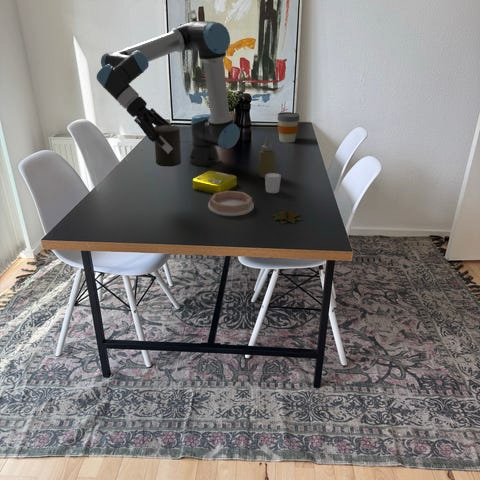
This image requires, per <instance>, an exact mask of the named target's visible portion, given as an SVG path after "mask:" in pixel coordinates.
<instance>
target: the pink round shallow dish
mask: <svg viewBox="0 0 480 480" xmlns="http://www.w3.org/2000/svg"><path fill="white" fill-rule="evenodd" d="M254 207H255V204H254V202H253V196H250V195H249V194H248V193H246V192H243V191H237V190H236V191H235V190H228V191H224V192H219V193H215V194H212V196H211V197H210V198H209V202H208V204H207V208H208V211H210V212H211V213H213V214H216V215H219V216H224V217H238V216H244V215H247V214H249V213H251V212H253V210H254Z"/></svg>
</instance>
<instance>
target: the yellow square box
mask: <svg viewBox="0 0 480 480" xmlns="http://www.w3.org/2000/svg"><path fill="white" fill-rule="evenodd" d="M237 179H238V177H237V176H236V175H234V174H228V173H224V172H219V171H214V170H208V171H206V172H204V173H202V174H200V175H198V176H196V177H194V178H193V179H192V189H194V190H197V191H202V192H205V193H209V194H212V195H214V194H215V193H219V192H224V191H231V189H233V188H234V187H236V186H237Z"/></svg>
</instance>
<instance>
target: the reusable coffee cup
mask: <svg viewBox="0 0 480 480" xmlns="http://www.w3.org/2000/svg"><path fill="white" fill-rule="evenodd" d="M299 121H300V113H296V112H291V111H290V112H287V111H286V112H285V111H284V112H279V113H277V132H278V137H279V141H280V142H281V143H287V144H289V143H294V142H295V141H296V137H297V134H298V129H299V125H300V124H299Z"/></svg>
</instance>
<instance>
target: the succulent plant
mask: <svg viewBox="0 0 480 480" xmlns="http://www.w3.org/2000/svg"><path fill="white" fill-rule="evenodd" d="M282 209H283V210H282V211H279V212H278V213H274V214H272V217H274V219H273V221H276V220H279V222H280V223H281V225H283V224H286V223H288V222H290V223H292V224H294V225H295V223H296V222H295V221H303V219H302V218H301V217H299V216H300V214H298V213H295V212H294V211H292V209H293V207H291V208H289V209H288V210H287V209H286V208H284V207H282ZM288 218H289V219H288ZM284 220H285V221H284Z"/></svg>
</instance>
